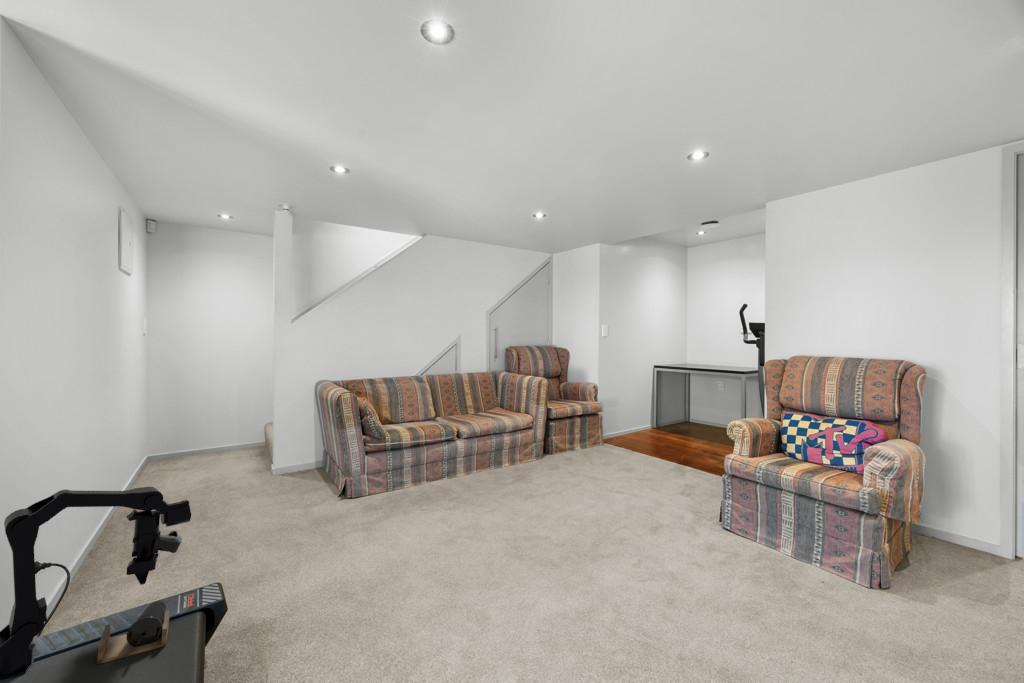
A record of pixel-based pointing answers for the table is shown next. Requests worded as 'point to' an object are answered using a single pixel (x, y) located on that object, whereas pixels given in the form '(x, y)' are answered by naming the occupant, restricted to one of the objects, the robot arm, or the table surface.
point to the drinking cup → (147, 625)
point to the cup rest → (127, 644)
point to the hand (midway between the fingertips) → (143, 583)
